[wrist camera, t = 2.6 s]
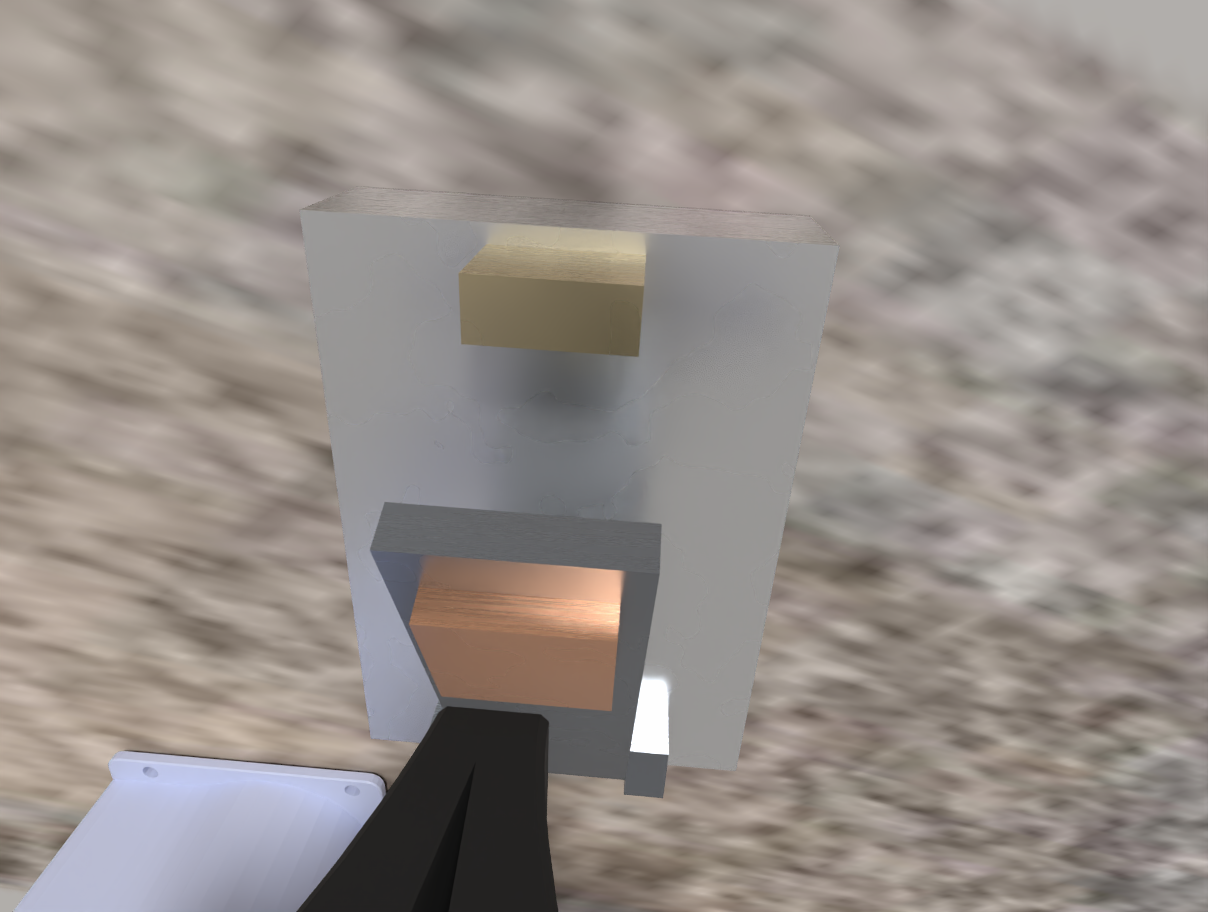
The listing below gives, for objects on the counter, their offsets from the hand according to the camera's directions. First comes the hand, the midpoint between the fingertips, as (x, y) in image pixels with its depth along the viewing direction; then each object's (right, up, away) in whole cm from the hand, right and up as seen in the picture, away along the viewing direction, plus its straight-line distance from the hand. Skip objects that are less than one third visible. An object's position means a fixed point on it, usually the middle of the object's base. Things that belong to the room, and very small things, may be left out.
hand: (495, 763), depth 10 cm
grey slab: (0, 0, +5) cm, 5 cm away
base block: (+1, +3, +10) cm, 10 cm away
